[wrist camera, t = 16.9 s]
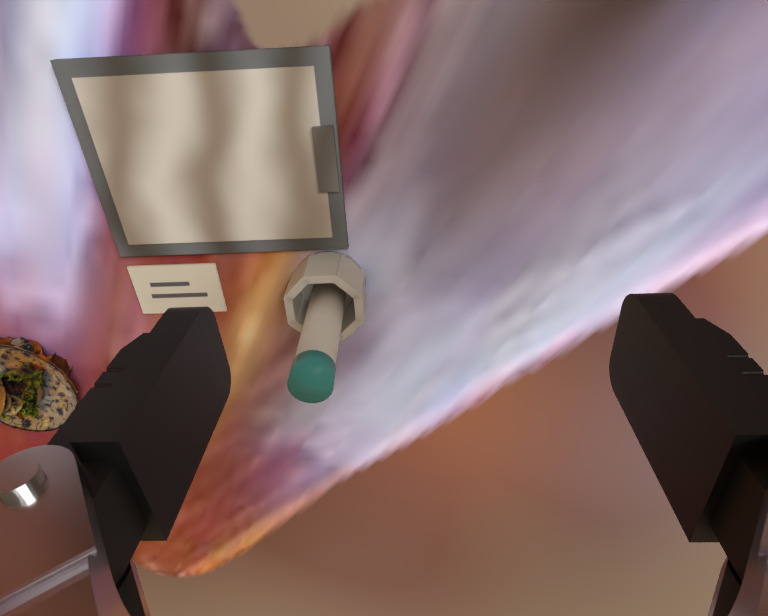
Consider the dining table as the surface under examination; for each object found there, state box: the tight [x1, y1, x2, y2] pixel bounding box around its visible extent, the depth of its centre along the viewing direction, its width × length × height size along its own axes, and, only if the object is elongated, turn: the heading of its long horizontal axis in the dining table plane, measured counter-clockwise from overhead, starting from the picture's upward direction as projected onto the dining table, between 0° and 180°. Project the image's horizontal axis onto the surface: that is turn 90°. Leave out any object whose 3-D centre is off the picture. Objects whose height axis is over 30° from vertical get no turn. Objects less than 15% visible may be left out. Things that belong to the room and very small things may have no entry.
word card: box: [127, 263, 227, 314], centre depth 47 cm, size 5×8×1 cm, turn 93°
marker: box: [287, 283, 346, 403], centre depth 40 cm, size 3×3×14 cm
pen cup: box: [283, 251, 366, 341], centre depth 45 cm, size 6×6×4 cm
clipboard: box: [50, 45, 348, 257], centre depth 40 cm, size 20×16×1 cm
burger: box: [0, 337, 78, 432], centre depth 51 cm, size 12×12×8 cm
